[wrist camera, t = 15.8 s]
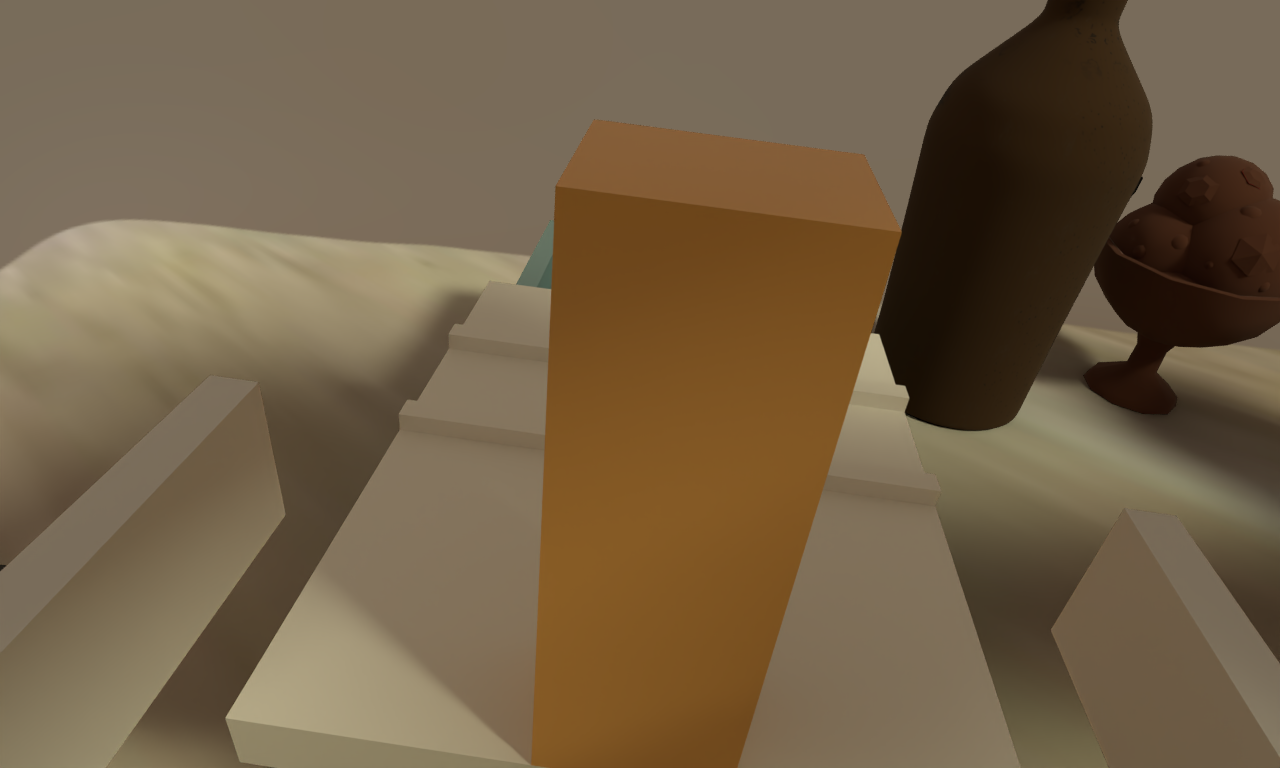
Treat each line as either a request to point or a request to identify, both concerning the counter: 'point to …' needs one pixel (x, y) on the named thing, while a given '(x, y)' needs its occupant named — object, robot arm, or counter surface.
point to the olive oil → (1012, 212)
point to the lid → (650, 506)
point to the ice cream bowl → (1190, 274)
